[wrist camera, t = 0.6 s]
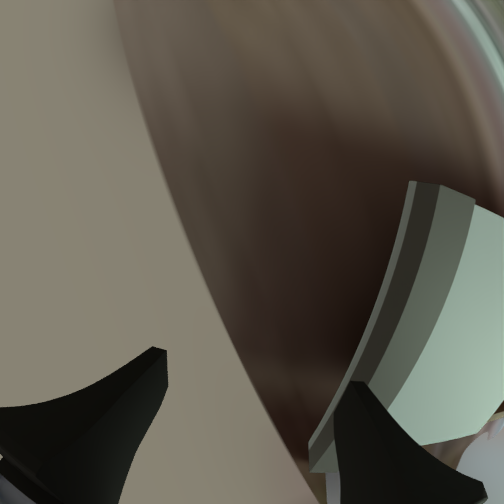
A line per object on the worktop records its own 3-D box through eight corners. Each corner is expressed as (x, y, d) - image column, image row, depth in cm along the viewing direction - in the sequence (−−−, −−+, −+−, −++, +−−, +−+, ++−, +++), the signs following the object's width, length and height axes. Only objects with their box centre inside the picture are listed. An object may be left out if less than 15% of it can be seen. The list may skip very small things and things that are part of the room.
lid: (474, 427, 15) (484, 446, 12) (308, 442, 16) (309, 472, 13) (564, 254, 10) (585, 265, 7) (409, 180, 11) (440, 184, 8)
